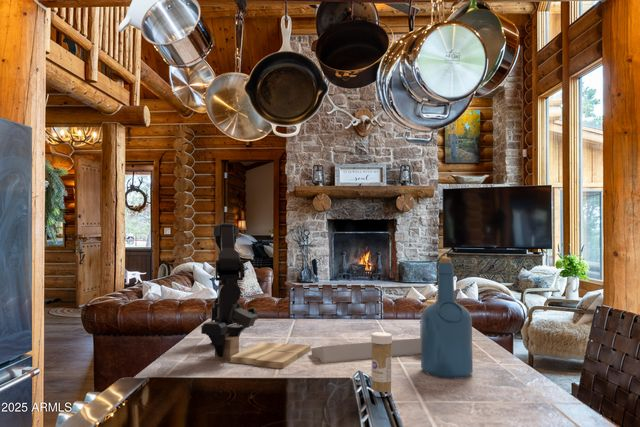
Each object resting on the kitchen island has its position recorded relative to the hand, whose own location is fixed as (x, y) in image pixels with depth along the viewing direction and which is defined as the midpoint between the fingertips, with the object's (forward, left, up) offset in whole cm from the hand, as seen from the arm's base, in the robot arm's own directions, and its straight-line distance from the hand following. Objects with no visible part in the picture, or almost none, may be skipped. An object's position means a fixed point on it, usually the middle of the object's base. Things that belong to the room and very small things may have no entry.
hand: (226, 354), depth 132 cm
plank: (+7, +7, -1) cm, 10 cm away
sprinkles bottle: (+48, -16, -1) cm, 51 cm away
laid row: (+15, +7, -1) cm, 17 cm away
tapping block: (0, 0, -1) cm, 1 cm away
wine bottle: (+61, +7, -2) cm, 61 cm away
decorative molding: (+38, +20, -2) cm, 43 cm away
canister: (+58, +34, -2) cm, 67 cm away
